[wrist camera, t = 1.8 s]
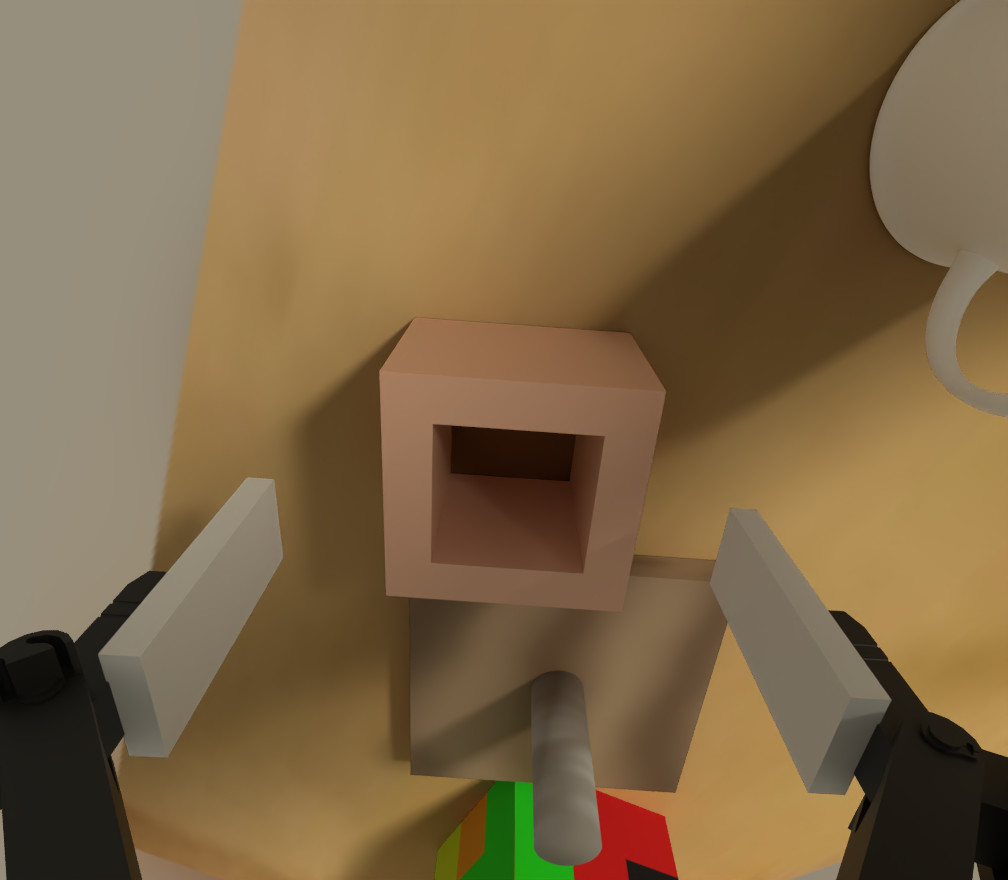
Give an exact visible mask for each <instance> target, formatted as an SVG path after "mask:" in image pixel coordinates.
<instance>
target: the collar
mask: <svg viewBox="0 0 1008 880" xmlns="http://www.w3.org/2000/svg"><path fill="white" fill-rule="evenodd" d="M379 373H380V407H381V441H382V475H383V509H384V544H385V578H386V596H398V597H412V598H426V599H441V600H455V601H470V602H484V603H498V604H513V605H527V606H542V607H556V608H570V609H585V610H599V611H614V612H622V610H623V605H624V600H625V595H626V590H627V585H628V580H629V575H630V570H631V565H632V560H633V555H634V550H635V545H636V540H637V535H638V530H639V525H640V520H641V515H642V510H643V505H644V500H645V495H646V490H647V485H648V480H649V475H650V471H651V466H652V461H653V456H654V451H655V446H656V441H657V436H658V431H659V426H660V421H661V416H662V411H663V406H664V401H665V396H666V390H665V389H664V387H663V385H662V384H661V382H660V380H659V379H658V377H657V376H656V374H655V372H654V371H653V369H652V367H651V366H650V364H649V363H648V361H647V359H646V358H645V356H644V354H643V353H642V351H641V350H640V348H639V346H638V345H637V343H636V341H635V340H634V338H633V337H632V335H631V333H625V332H611V331H597V330H583V329H569V328H555V327H541V326H527V325H513V324H500V323H486V322H472V321H458V320H444V319H430V318H416V317H415V318H414V319H413V321H412V322H411V324H410V325H409V327H408V329H407V330H406V332H405V333H404V335H403V336H402V338H401V339H400V341H399V342H398V344H397V345H396V347H395V348H394V350H393V351H392V353H391V354H390V356H389V357H388V359H387V360H386V362H385V363H384V365H383V366H382V368H381V370H380V371H379ZM452 425H454V426H468V427H482V428H496V429H510V430H524V431H538V432H552V433H567V434H576V438H575V446H574V453H573V461H572V468H571V476H570V482H567V481H553V480H538V479H524V478H510V477H496V476H482V475H467V474H453V473H451V448H452Z"/></svg>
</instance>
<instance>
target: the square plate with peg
mask: <svg viewBox="0 0 1008 880" xmlns="http://www.w3.org/2000/svg"><path fill="white" fill-rule="evenodd" d="M715 563H716V561H715V560H700V559H686V558H672V557H657V556H643V555H633V560H632V565H631V570H630V575H629V580H628V585H627V590H626V595H625V600H624V605H623V610H622V612H614V611H599V610H585V609H570V608H556V607H542V606H527V605H513V604H498V603H484V602H470V601H455V600H441V599H426V598H412V597H410V745H411V775H423V776H437V777H452V778H467V779H481V780H496V781H511V782H526V783H533V837H534V850H535V852H536V854H537V855H538V856H539V857H540V858H541V859H543V860H545V861H547V862H549V863H552V864H555V865H561V866H574V865H580V864H584V863H587V862H589V861H591V860H593V859H594V858H595V857H597V856H598V854H599V853H600V851H601V849H602V841H601V833H600V824H599V816H598V807H597V799H596V790H595V787H599V788H614V789H629V790H644V791H658V792H673V793H675V792H676V789H677V785H678V782H679V779H680V776H681V772H682V769H683V766H684V763H685V759H686V756H687V753H688V750H689V746H690V743H691V740H692V737H693V733H694V730H695V727H696V724H697V720H698V717H699V714H700V711H701V707H702V704H703V701H704V698H705V694H706V691H707V688H708V685H709V681H710V678H711V675H712V672H713V668H714V665H715V662H716V659H717V655H718V652H719V649H720V646H721V642H722V639H723V636H724V633H725V629H726V626H727V623H728V622H727V620H726V617H725V615H724V613H723V611H722V609H721V607H720V605H719V603H718V601H717V598H716V596H715V594H714V592H713V590H712V588H711V586H710V581H711V577H712V574H713V570H714V566H715Z"/></svg>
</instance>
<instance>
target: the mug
mask: <svg viewBox="0 0 1008 880" xmlns="http://www.w3.org/2000/svg"><path fill="white" fill-rule="evenodd" d="M870 183H871V190H872V195H873V199H874V203H875V206H876V209H877V211H878V214H879V216H880V218H881V220H882V222H883V224H884V225H885V227H886V228H887V230H888V231H889V233H890V234H891V235H892V236H893V237H894V239H895V240H896V241H897V242H898V243H899V244H900V245H901V246H903V247H904V248H905V249H906V250H908V251H909V252H911V253H912V254H914V255H915V256H917V257H919V258H921V259H923V260H925V261H928V262H930V263H933V264H937V265H940V266H945V267H950V269H949V271H948V272H947V274H946V276H945V278H944V279H943V281H942V283H941V285H940V287H939V289H938V291H937V293H936V295H935V298H934V300H933V303H932V305H931V308H930V311H929V315H928V319H927V324H926V331H925V348H926V354H927V358H928V362H929V364H930V367H931V369H932V371H933V373H934V374H935V376H936V378H937V379H938V380H939V382H940V383H941V384H942V385H943V386H944V387H945V388H946V389H947V390H948V391H949V392H950V393H952V394H953V395H954V396H955V397H957V398H958V399H960V400H961V401H963V402H965V403H967V404H968V405H970V406H972V407H975V408H977V409H979V410H982V411H984V412H987V413H990V414H994V415H998V416H1002V417H1007V418H1008V394H1003V393H996V392H991V391H987V390H984V389H981V388H979V387H977V386H975V385H973V384H972V383H971V382H969V381H968V380H967V379H966V377H965V376H964V375H963V373H962V372H961V370H960V367H959V365H958V361H957V357H956V339H957V333H958V329H959V326H960V322H961V320H962V317H963V315H964V312H965V310H966V308H967V306H968V304H969V303H970V301H971V299H972V298H973V296H974V295H975V293H976V292H977V290H978V289H979V288H980V287H981V286H982V284H983V283H984V282H985V281H986V280H987V279H988V278H989V277H990V276H992V275H993V274H994V273H995V272H996V271H999V272H1003V273H1008V0H960V1H959V2H958V3H957V4H955V5H954V6H953V7H952V8H951V9H949V10H948V11H947V12H946V13H945V14H944V15H943V16H942V17H941V18H940V19H939V20H938V21H937V22H936V23H935V24H934V25H933V26H932V27H931V28H930V29H929V30H928V31H927V32H926V34H925V35H924V36H923V37H922V38H921V39H920V41H919V42H918V43H917V44H916V46H915V47H914V48H913V50H912V51H911V52H910V54H909V55H908V57H907V58H906V60H905V61H904V63H903V64H902V66H901V68H900V69H899V71H898V73H897V74H896V76H895V78H894V80H893V82H892V84H891V86H890V88H889V90H888V92H887V94H886V96H885V99H884V101H883V104H882V106H881V109H880V112H879V115H878V118H877V121H876V125H875V129H874V133H873V138H872V143H871V151H870Z"/></svg>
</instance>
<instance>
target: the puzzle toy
mask: <svg viewBox="0 0 1008 880" xmlns="http://www.w3.org/2000/svg"><path fill="white" fill-rule="evenodd" d="M596 799H597V807H598V816H599V824H600V833H601V841H602V849H601V851H600V853H599V854H598V856H597V857H595V858H594V859H593V860H591V861H589V862H587V863H584V864H580V865H574V866H561V865H555V864H552V863H549V862H547V861H545V860H543V859H541V858H540V857H539V856H538V855H537V854H536V852H535V850H534V837H533V783H526V782H511V781H496V783H495V784H494V785H493V786H492V787H491V788H490V790H489V791H488V792H487V793H486V794H485V795H484V797H483V798H482V799H481V800H480V801H479V802H478V804H477V805H476V806H475V807H474V808H473V810H472V811H471V812H470V813H469V814H468V815H467V817H466V818H465V819H464V820H463V821H462V822H461V824H460V825H459V826H458V827H457V828H456V829H455V831H454V832H453V833H452V834H451V835H450V836H449V838H448V839H447V840H446V841H445V842H444V843H443V845H442V846H441V847H440V848H439V849H438V851H437V859H436V867H435V876H434V880H678V876H677V871H676V866H675V862H674V857H673V852H672V848H671V843H670V839H669V834H668V829H667V825H666V820H665V816H662V815H659V814H657V813H654V812H652V811H649V810H646V809H644V808H641V807H639V806H636V805H633V804H631V803H628V802H626V801H623V800H620V799H618V798H615V797H613V796H610V795H607V794H605V793H602V792H600V791H597V790H596Z"/></svg>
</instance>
